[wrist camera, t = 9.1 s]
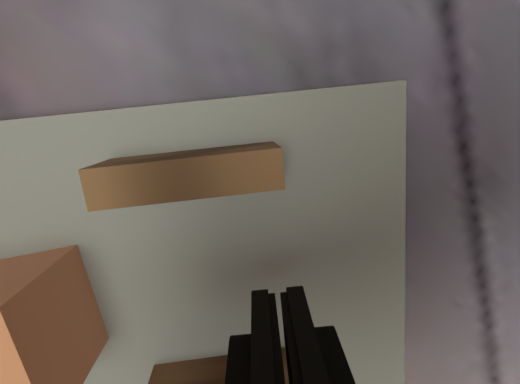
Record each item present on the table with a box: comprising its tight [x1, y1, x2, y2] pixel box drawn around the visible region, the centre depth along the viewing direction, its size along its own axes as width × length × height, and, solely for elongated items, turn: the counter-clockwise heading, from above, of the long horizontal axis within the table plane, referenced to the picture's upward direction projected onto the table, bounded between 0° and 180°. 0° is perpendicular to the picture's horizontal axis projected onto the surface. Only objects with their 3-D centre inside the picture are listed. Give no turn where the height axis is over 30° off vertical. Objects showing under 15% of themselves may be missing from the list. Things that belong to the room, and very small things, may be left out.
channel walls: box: [78, 141, 289, 384], centre depth 14 cm, size 7×12×3 cm, turn 6°
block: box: [0, 245, 109, 384], centre depth 13 cm, size 5×5×5 cm
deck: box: [0, 80, 406, 384], centre depth 17 cm, size 30×16×2 cm, turn 96°
